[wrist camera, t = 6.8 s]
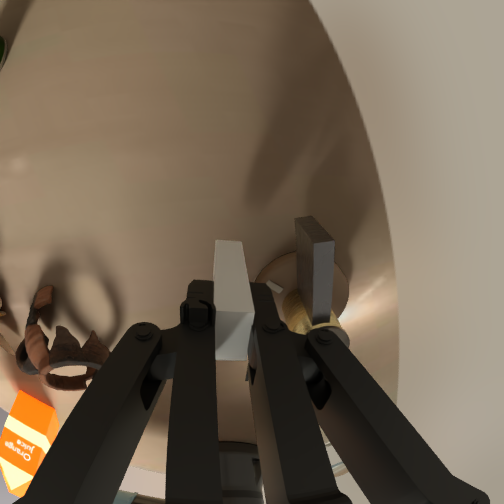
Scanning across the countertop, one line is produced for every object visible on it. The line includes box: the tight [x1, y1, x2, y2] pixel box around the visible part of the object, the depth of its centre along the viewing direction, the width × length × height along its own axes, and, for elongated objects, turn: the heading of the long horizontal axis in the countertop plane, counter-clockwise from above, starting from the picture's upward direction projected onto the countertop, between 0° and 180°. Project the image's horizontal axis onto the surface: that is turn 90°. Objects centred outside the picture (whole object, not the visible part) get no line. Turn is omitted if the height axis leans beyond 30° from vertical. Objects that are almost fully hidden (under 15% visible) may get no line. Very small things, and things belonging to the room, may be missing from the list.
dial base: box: [255, 252, 349, 323], centre depth 22 cm, size 8×8×2 cm
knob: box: [282, 216, 350, 348], centre depth 18 cm, size 9×4×5 cm, turn 6°
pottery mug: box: [16, 285, 111, 391], centre depth 20 cm, size 12×10×8 cm
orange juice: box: [0, 390, 59, 497], centre depth 21 cm, size 8×9×20 cm
